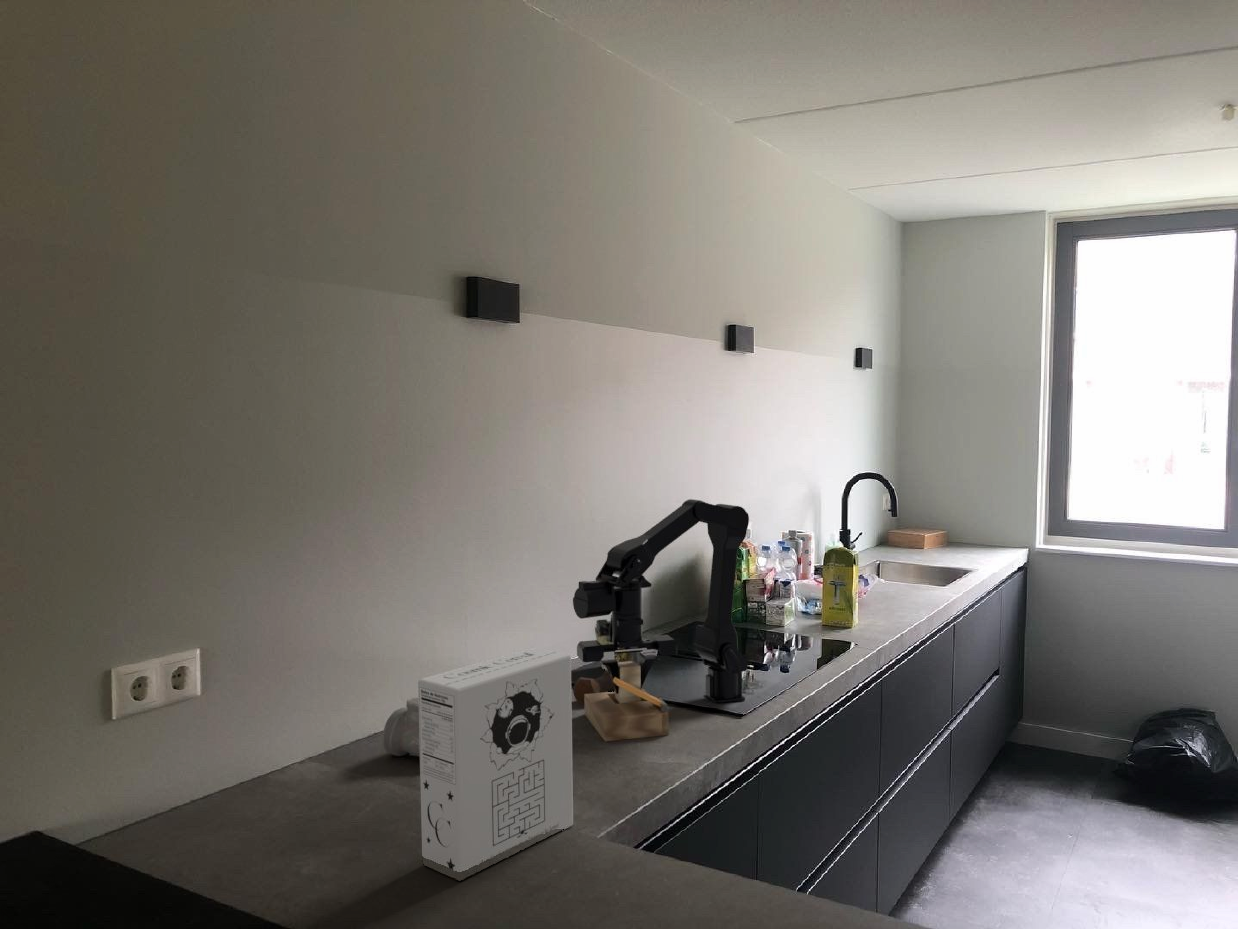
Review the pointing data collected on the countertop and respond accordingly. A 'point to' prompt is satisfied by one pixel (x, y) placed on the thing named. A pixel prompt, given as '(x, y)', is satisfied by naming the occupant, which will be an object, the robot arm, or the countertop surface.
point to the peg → (629, 681)
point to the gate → (638, 692)
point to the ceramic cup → (619, 657)
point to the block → (625, 717)
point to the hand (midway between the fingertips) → (627, 692)
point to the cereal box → (495, 755)
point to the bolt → (592, 686)
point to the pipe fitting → (403, 730)
